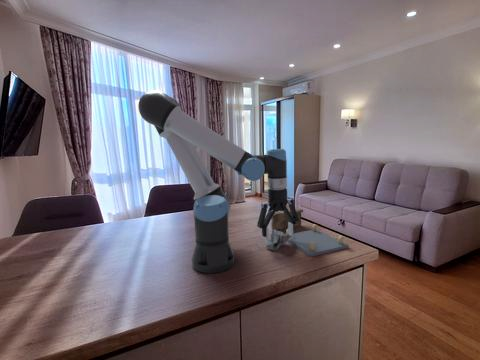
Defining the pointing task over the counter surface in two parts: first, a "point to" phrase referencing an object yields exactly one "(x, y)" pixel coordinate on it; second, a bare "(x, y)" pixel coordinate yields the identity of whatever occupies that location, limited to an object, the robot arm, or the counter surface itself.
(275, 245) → the mineral specimen
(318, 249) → the base
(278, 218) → the panel
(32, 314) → the counter surface
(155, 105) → the robot arm
